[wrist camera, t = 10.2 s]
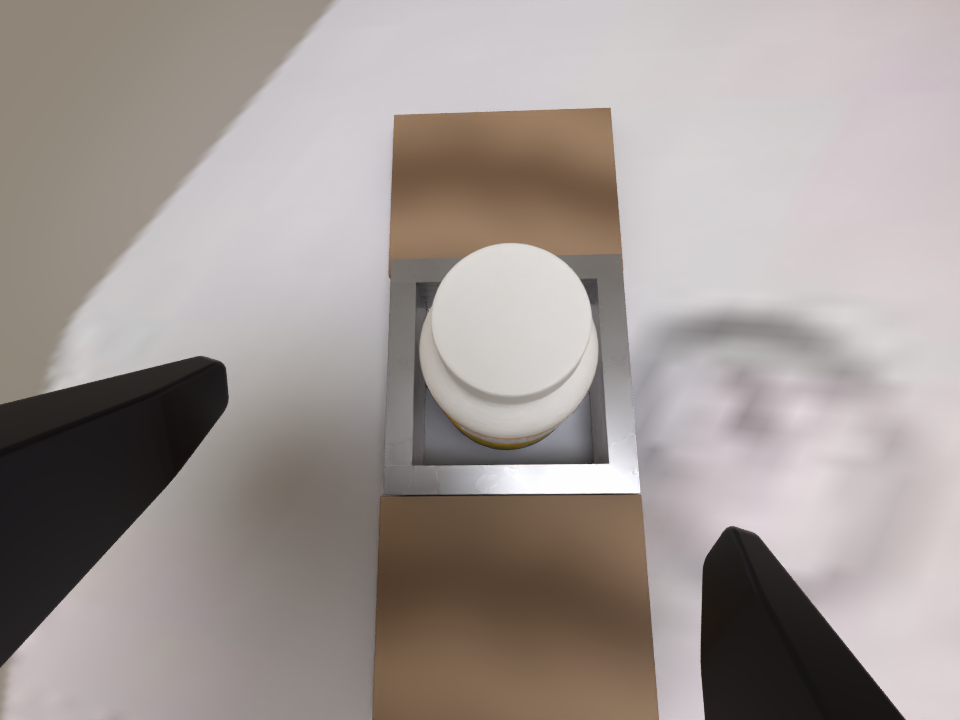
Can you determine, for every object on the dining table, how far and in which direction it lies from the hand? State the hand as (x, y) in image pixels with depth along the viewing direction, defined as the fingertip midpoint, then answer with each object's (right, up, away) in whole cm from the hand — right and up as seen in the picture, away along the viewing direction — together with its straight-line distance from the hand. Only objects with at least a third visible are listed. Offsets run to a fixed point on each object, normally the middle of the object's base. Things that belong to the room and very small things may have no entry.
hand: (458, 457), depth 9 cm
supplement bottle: (+2, 0, +13) cm, 13 cm away
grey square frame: (+2, +1, +13) cm, 13 cm away
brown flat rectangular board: (+2, +1, +13) cm, 13 cm away
